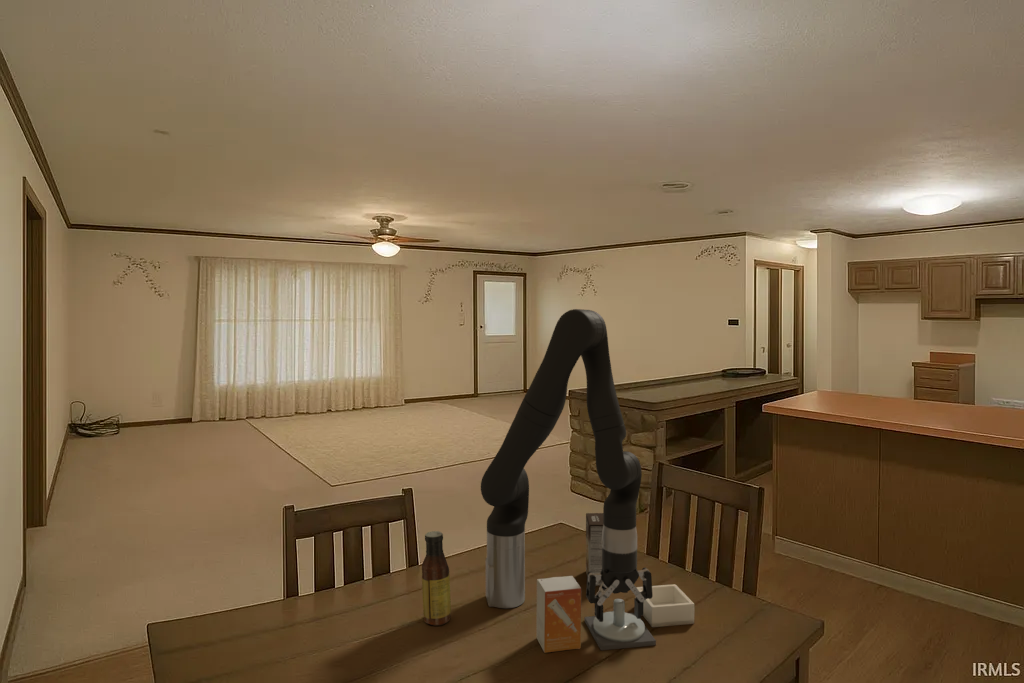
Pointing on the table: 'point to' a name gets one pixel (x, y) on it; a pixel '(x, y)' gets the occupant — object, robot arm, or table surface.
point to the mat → (609, 644)
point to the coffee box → (594, 543)
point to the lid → (619, 624)
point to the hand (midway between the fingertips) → (619, 618)
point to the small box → (558, 613)
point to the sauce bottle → (435, 581)
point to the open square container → (668, 607)
